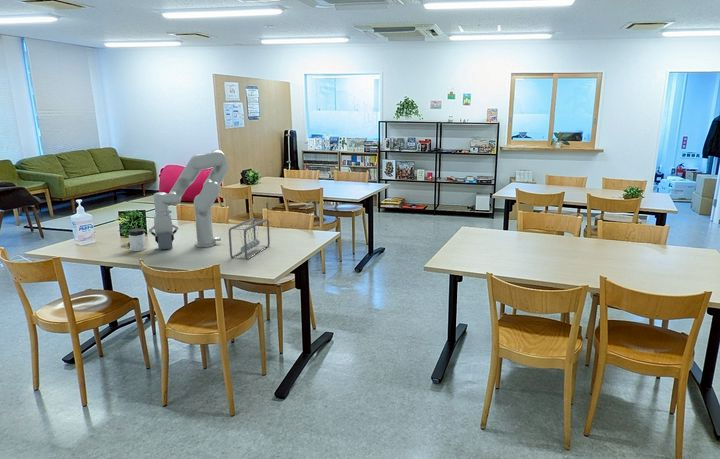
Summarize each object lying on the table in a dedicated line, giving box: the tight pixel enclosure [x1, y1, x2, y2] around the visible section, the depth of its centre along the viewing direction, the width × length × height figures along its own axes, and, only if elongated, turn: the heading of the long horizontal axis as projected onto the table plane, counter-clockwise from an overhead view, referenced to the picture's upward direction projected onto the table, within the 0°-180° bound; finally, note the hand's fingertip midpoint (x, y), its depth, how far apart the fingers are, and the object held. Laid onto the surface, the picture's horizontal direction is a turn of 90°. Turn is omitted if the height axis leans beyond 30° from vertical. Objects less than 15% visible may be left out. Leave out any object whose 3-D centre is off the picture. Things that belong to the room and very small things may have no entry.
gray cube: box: [157, 232, 174, 251], centre depth 299 cm, size 8×8×9 cm
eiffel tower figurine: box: [120, 226, 131, 250], centre depth 306 cm, size 15×10×13 cm
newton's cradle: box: [228, 217, 271, 260], centre depth 291 cm, size 30×10×18 cm, turn 164°
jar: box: [128, 227, 147, 252], centre depth 297 cm, size 9×8×12 cm
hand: (164, 241), depth 300 cm, fingers closed on gray cube, 7 cm apart
